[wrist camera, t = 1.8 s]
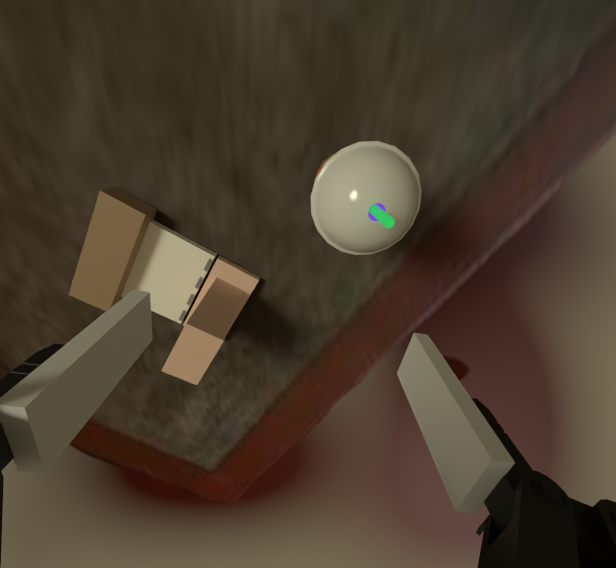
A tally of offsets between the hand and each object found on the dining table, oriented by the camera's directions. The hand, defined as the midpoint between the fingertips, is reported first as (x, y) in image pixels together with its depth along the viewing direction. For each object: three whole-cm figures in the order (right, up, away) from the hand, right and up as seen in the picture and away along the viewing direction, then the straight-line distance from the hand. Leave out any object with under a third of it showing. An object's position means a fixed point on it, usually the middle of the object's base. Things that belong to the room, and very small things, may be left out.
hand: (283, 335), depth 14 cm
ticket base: (-20, +5, +23) cm, 31 cm away
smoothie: (+5, +15, +20) cm, 25 cm away
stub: (-11, 0, +26) cm, 28 cm away
